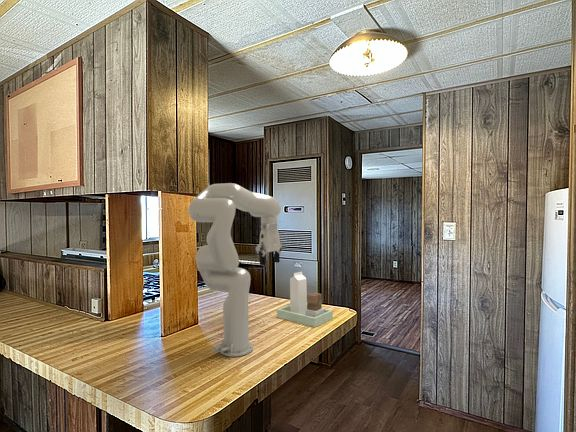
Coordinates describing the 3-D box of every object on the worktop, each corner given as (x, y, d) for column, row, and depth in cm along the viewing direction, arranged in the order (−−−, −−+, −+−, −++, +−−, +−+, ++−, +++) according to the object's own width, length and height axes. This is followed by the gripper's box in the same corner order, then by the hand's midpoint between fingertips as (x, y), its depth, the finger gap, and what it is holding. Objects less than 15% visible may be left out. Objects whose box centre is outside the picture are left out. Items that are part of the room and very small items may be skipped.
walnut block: (316, 311, 156) (316, 296, 156) (307, 309, 159) (307, 294, 159) (321, 308, 160) (321, 293, 160) (312, 306, 163) (312, 292, 163)
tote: (314, 327, 151) (314, 318, 151) (277, 317, 166) (276, 309, 166) (332, 318, 162) (332, 310, 162) (295, 310, 177) (295, 302, 177)
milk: (307, 315, 168) (306, 272, 167) (298, 318, 163) (298, 273, 163) (298, 313, 172) (298, 270, 172) (290, 315, 168) (289, 272, 167)
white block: (316, 324, 155) (315, 311, 155) (305, 321, 159) (305, 309, 159) (324, 320, 160) (324, 308, 160) (313, 318, 164) (313, 305, 164)
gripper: (262, 228, 147) (262, 267, 147) (287, 226, 160) (287, 261, 161) (250, 227, 152) (250, 265, 152) (275, 226, 165) (276, 260, 165)
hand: (269, 263), depth 156 cm, fingers open, 9 cm apart
